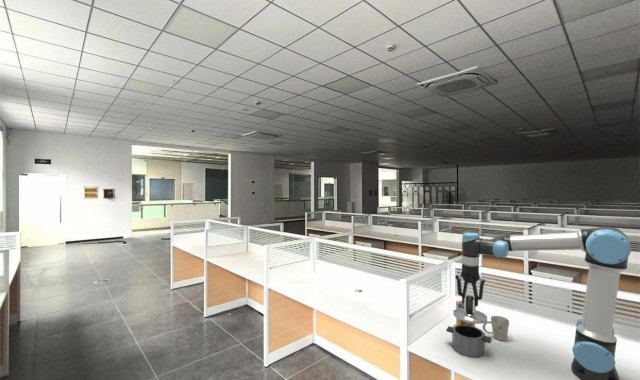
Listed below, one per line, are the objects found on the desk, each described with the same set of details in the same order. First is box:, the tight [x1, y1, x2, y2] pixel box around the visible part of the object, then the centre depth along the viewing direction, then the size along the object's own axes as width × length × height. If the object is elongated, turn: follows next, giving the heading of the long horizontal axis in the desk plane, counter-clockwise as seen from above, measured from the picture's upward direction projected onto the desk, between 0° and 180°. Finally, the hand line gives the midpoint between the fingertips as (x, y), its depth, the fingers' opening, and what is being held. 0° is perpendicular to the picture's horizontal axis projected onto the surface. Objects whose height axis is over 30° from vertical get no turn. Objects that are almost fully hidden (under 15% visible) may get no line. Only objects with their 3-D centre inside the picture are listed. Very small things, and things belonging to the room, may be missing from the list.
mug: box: [482, 315, 510, 342], centre depth 159 cm, size 8×13×10 cm, turn 78°
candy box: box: [455, 300, 476, 327], centre depth 169 cm, size 9×4×15 cm, turn 85°
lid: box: [453, 294, 488, 325], centre depth 148 cm, size 15×15×10 cm
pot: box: [445, 325, 493, 359], centre depth 148 cm, size 20×14×9 cm
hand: (469, 311), depth 148 cm, fingers closed on lid, 3 cm apart
